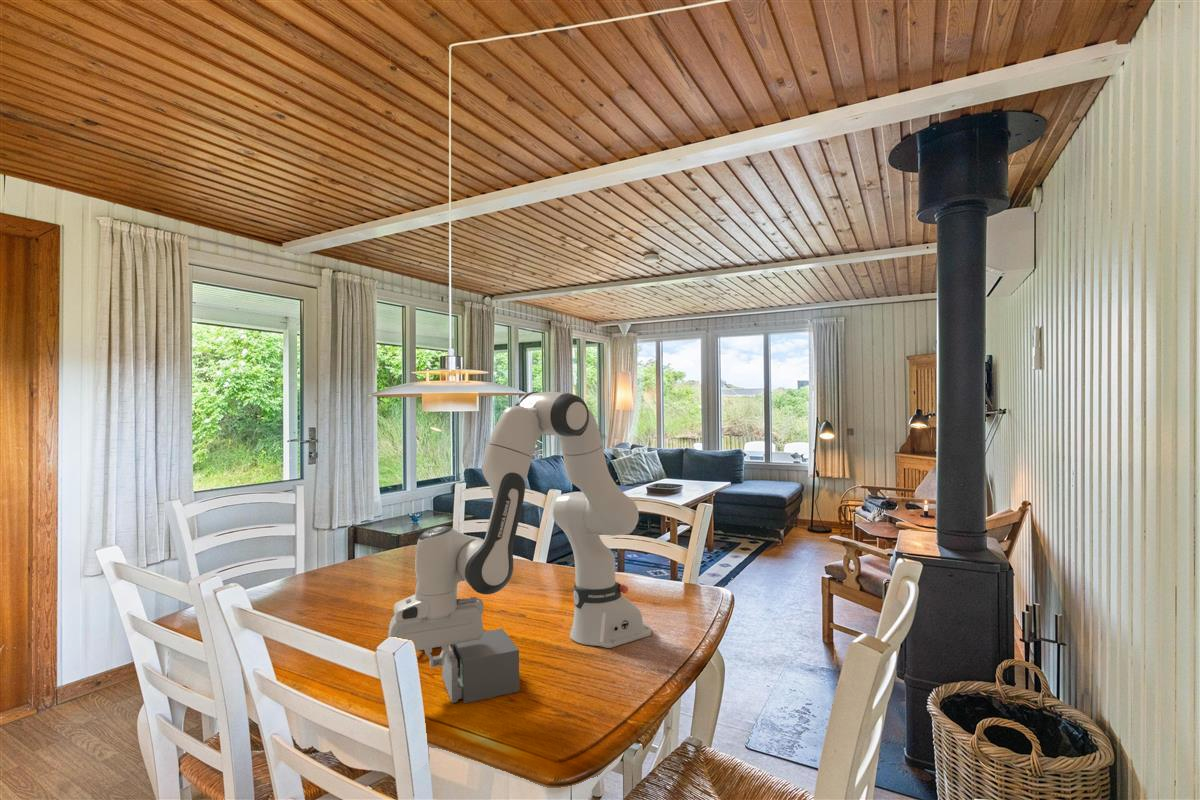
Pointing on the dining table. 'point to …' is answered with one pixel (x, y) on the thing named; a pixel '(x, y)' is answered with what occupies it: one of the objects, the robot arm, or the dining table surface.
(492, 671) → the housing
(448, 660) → the tray
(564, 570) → the dining table surface
